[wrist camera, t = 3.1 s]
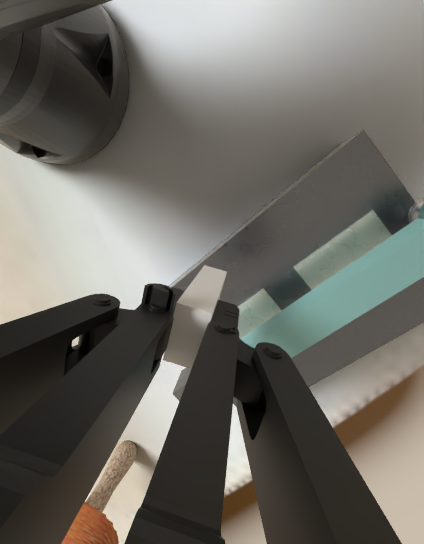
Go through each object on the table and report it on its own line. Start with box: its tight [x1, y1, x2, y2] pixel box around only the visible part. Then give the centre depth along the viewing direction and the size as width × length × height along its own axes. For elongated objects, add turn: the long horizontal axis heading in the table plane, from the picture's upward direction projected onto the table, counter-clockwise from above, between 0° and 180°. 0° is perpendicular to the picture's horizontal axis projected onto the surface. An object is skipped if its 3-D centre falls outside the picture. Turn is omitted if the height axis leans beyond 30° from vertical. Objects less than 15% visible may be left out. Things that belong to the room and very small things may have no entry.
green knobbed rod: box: [173, 203, 424, 401], centre depth 18 cm, size 24×4×3 cm, turn 130°
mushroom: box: [61, 440, 137, 544], centre depth 29 cm, size 8×8×15 cm
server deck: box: [169, 130, 424, 407], centre depth 23 cm, size 15×23×8 cm, turn 130°
